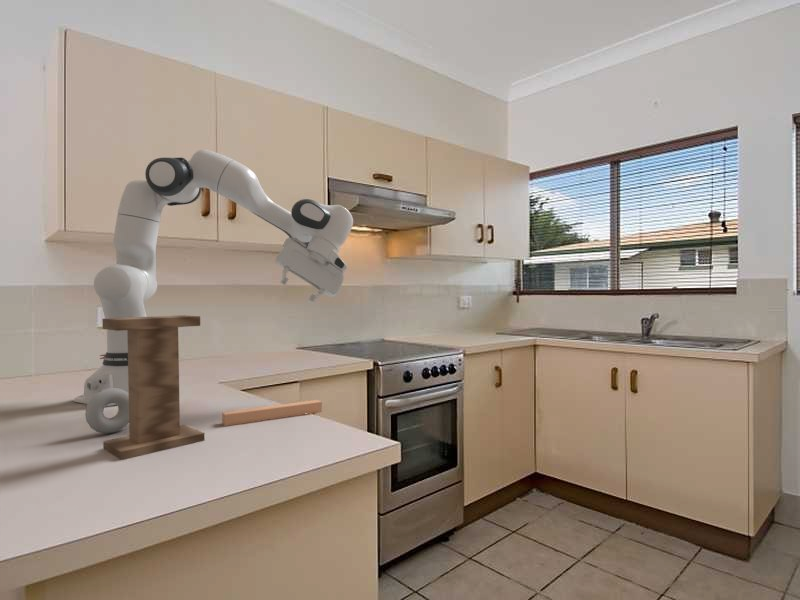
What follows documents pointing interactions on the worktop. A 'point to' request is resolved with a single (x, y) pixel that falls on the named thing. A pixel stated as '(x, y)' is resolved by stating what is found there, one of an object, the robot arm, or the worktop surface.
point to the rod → (270, 412)
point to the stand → (152, 386)
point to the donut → (97, 407)
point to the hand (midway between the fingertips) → (296, 292)
